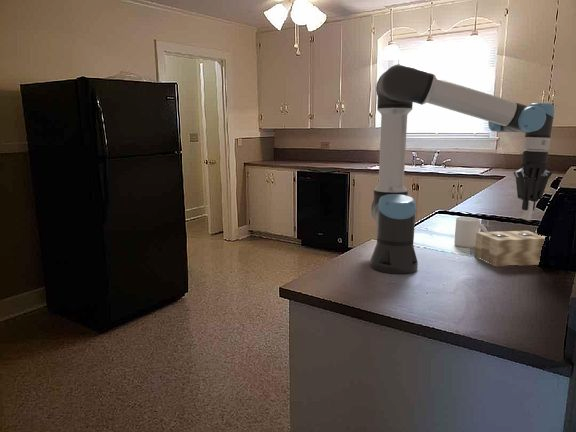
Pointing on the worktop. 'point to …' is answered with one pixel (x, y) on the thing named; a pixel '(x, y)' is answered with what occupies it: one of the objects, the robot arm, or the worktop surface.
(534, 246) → the socket block
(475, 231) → the mug
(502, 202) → the worktop surface
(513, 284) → the worktop surface
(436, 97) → the robot arm
